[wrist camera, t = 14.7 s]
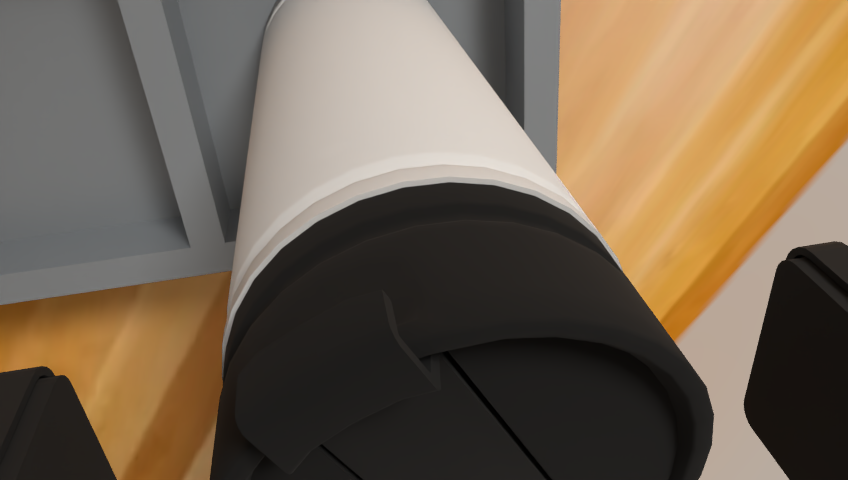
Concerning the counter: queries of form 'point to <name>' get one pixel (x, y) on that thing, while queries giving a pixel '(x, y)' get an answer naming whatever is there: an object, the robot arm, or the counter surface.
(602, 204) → the counter surface
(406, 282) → the travel mug
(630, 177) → the counter surface
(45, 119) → the grey compartment tray
